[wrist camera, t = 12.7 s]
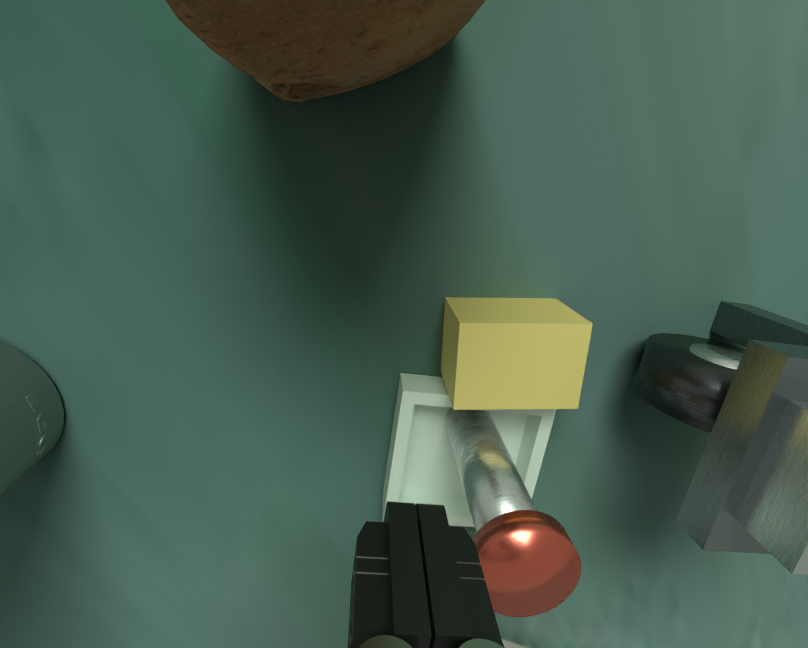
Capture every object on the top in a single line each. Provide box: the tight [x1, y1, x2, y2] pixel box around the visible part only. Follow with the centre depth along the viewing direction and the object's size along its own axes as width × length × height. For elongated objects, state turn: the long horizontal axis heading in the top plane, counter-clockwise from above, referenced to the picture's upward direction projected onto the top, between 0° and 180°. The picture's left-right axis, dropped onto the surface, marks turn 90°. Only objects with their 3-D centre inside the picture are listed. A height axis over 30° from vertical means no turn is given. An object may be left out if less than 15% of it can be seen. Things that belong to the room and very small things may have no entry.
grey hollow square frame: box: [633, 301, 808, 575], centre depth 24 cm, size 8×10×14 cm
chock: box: [441, 297, 593, 410], centre depth 26 cm, size 7×5×5 cm
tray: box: [382, 373, 557, 527], centre depth 30 cm, size 10×10×2 cm
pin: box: [445, 408, 581, 617], centre depth 24 cm, size 4×4×12 cm
